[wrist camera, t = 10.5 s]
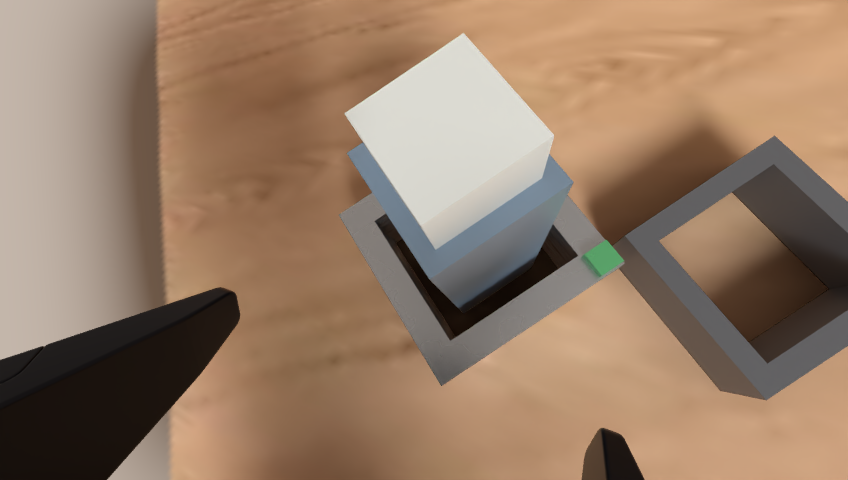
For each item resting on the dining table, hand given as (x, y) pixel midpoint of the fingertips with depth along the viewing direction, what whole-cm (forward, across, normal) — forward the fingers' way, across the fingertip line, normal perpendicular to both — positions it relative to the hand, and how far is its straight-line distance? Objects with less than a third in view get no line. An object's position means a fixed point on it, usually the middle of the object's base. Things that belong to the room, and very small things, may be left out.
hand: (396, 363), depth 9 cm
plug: (+11, 0, +4) cm, 12 cm away
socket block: (+11, 0, +4) cm, 12 cm away
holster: (+13, -11, +2) cm, 17 cm away
